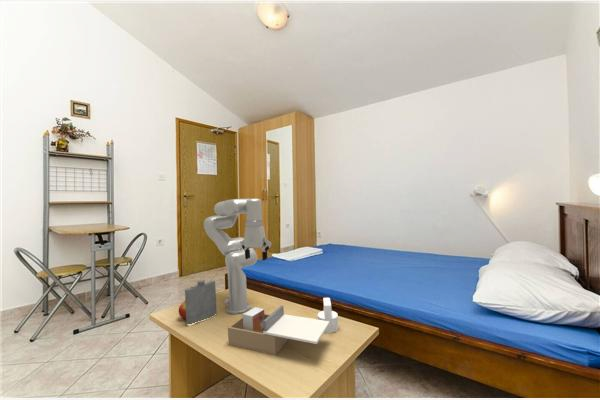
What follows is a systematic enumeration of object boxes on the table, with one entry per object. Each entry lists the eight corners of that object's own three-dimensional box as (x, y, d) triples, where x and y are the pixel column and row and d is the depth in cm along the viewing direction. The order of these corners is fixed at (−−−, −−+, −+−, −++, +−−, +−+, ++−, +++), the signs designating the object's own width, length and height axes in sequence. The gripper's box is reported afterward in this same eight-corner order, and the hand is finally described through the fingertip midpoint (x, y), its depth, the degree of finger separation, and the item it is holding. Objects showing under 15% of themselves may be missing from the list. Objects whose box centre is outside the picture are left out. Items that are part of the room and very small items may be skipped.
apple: (197, 318, 134) (196, 299, 134) (180, 323, 129) (179, 303, 129) (194, 313, 141) (193, 294, 140) (177, 317, 136) (176, 298, 136)
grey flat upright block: (214, 312, 140) (212, 275, 139) (218, 314, 137) (217, 276, 137) (185, 325, 127) (183, 284, 127) (189, 327, 125) (187, 285, 125)
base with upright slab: (317, 323, 124) (316, 297, 123) (337, 322, 123) (336, 297, 123) (318, 333, 115) (317, 305, 114) (339, 332, 114) (338, 305, 114)
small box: (253, 341, 109) (252, 316, 108) (243, 338, 111) (242, 313, 111) (265, 332, 115) (264, 308, 115) (256, 329, 118) (254, 306, 118)
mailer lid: (263, 333, 102) (262, 321, 102) (281, 315, 117) (281, 305, 117) (316, 344, 93) (316, 330, 93) (329, 323, 108) (329, 311, 108)
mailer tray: (228, 344, 109) (227, 327, 109) (250, 326, 124) (249, 311, 123) (275, 354, 100) (274, 336, 100) (292, 333, 115) (292, 318, 115)
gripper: (235, 224, 128) (236, 259, 128) (266, 225, 121) (267, 262, 121) (244, 223, 135) (245, 256, 135) (274, 223, 128) (275, 258, 128)
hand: (256, 259), depth 128 cm, fingers open, 9 cm apart
